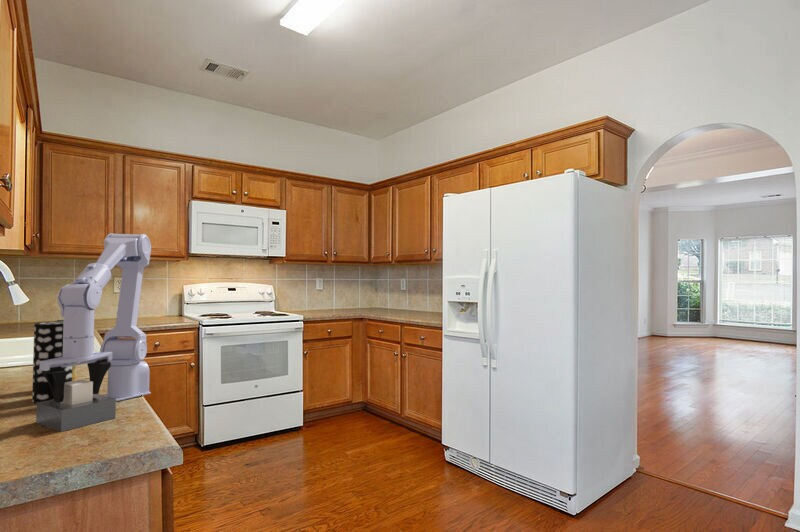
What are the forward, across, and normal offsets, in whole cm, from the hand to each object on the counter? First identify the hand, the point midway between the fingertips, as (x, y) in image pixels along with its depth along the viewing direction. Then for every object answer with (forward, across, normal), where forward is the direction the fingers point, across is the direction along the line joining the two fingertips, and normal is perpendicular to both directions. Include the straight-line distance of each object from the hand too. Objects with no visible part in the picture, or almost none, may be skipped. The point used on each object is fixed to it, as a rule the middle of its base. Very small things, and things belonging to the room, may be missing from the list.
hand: (77, 397), depth 104 cm
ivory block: (+5, 0, 0) cm, 5 cm away
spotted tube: (+5, -8, -24) cm, 26 cm away
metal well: (+5, 0, 0) cm, 5 cm away
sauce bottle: (+5, -16, -34) cm, 38 cm away
